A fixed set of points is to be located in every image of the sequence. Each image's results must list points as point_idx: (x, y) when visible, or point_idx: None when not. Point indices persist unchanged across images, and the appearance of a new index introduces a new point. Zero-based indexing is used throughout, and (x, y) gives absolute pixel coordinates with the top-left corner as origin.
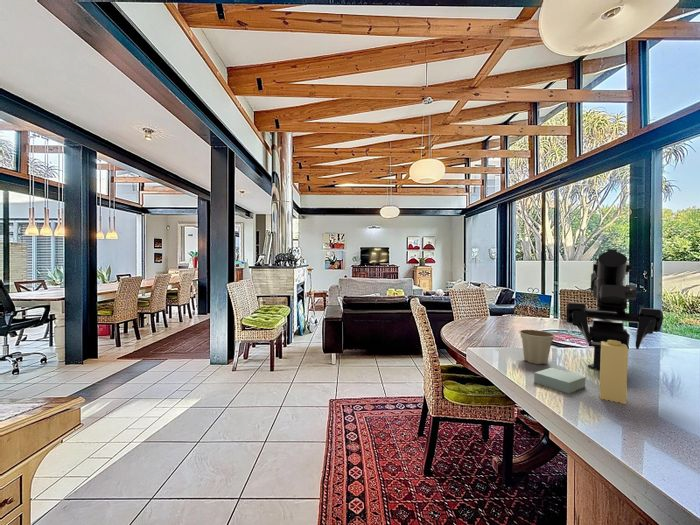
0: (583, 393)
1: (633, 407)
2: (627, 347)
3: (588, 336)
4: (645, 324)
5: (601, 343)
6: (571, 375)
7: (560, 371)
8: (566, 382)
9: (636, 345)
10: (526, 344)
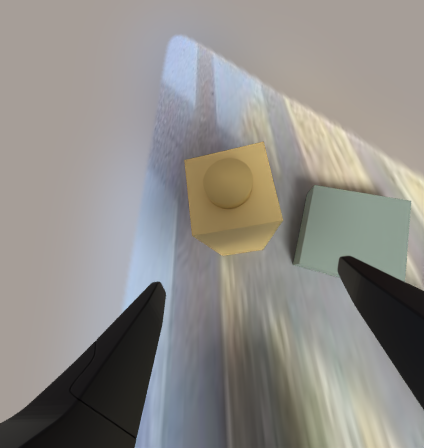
0: (285, 219)
1: None
2: (186, 175)
3: (359, 268)
4: (13, 422)
5: (273, 186)
6: (329, 249)
7: None
8: (319, 186)
9: (158, 291)
10: None
